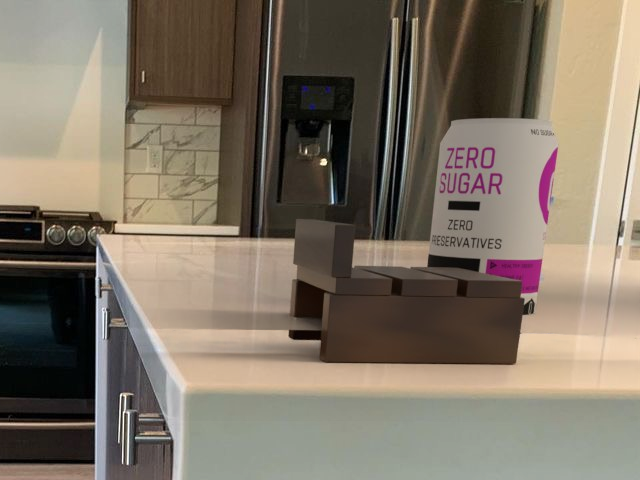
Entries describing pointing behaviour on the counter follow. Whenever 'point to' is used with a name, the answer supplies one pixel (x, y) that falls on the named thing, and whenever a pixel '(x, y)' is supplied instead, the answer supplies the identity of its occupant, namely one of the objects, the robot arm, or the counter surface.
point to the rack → (399, 306)
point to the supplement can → (494, 199)
